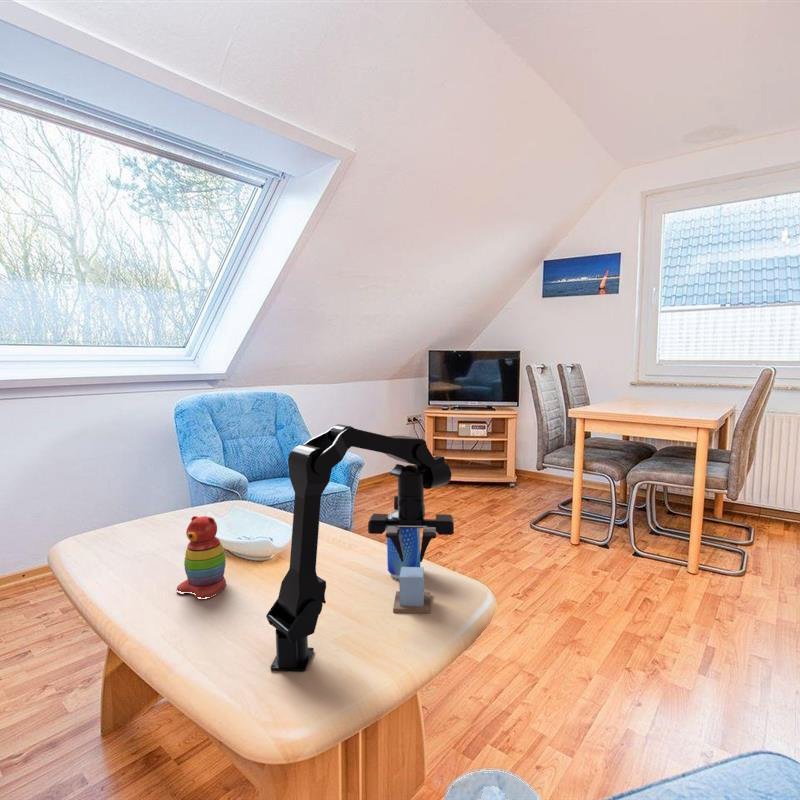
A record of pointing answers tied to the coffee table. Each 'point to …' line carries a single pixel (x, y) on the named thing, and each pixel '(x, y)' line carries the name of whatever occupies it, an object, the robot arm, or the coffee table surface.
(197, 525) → the stacking bear
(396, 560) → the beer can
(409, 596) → the pale blue foam brick
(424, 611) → the brown square stand
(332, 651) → the coffee table surface
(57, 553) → the coffee table surface
